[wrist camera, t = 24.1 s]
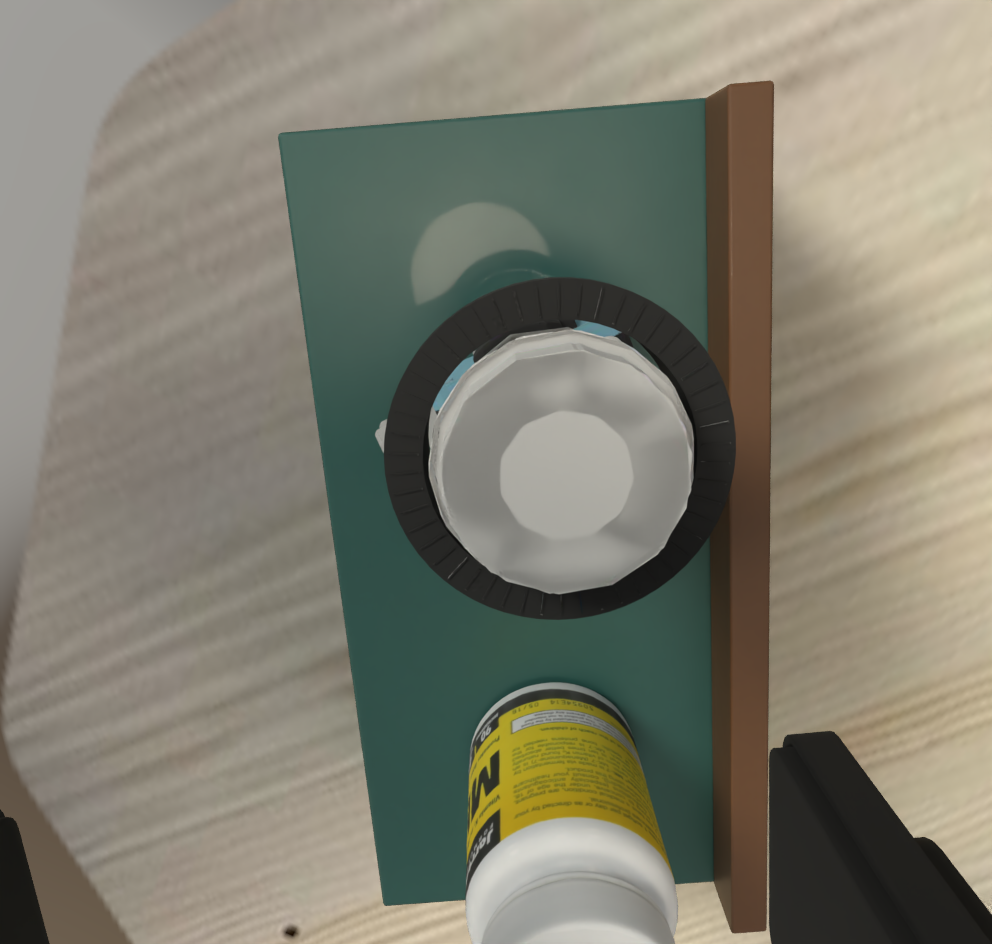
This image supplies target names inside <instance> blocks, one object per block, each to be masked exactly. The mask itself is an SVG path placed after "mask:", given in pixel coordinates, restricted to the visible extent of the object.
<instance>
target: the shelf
mask: <svg viewBox="0 0 992 944" xmlns="http://www.w3.org/2000/svg"><path fill="white" fill-rule="evenodd" d="M773 128H774V84H773V82H772V81H760V82H748V83H736V84H730V85H728V86H726V87H724V88H723V89H721V90H719V91H717V92H716V93H714V94H712V95H711V96H709V97H707V98H699V99H687V100H675V101H663V102H650V103H638V104H626V105H614V106H602V107H590V108H577V109H565V110H553V111H541V112H529V113H517V114H504V115H492V116H480V117H468V118H456V119H444V120H431V121H419V122H407V123H395V124H383V125H371V126H358V127H346V128H334V129H322V130H310V131H298V132H285V133H280V134H279V136H278V140H279V147H280V155H281V162H282V169H283V176H284V184H285V191H286V198H287V206H288V213H289V220H290V227H291V235H292V242H293V249H294V256H295V264H296V271H297V278H298V286H299V293H300V300H301V307H302V315H303V322H304V329H305V337H306V344H307V351H308V358H309V366H310V373H311V380H312V387H313V395H314V402H315V409H316V417H317V424H318V431H319V438H320V446H321V453H322V460H323V468H324V475H325V482H326V489H327V497H328V504H329V511H330V518H331V526H332V533H333V540H334V548H335V555H336V562H337V569H338V577H339V584H340V591H341V599H342V606H343V613H344V620H345V628H346V635H347V642H348V649H349V657H350V664H351V671H352V679H353V686H354V693H355V700H356V708H357V715H358V722H359V729H360V737H361V744H362V751H363V759H364V766H365V773H366V780H367V788H368V795H369V802H370V810H371V817H372V824H373V831H374V839H375V846H376V853H377V860H378V868H379V875H380V882H381V890H382V897H383V903H384V905H385V906H391V905H404V904H417V903H431V902H444V901H458V900H466V899H465V892H466V868H467V830H468V794H469V758H470V749H471V744H472V740H473V737H474V734H475V731H476V729H477V727H478V725H479V723H480V721H481V720H482V718H483V717H484V716H485V714H486V713H487V712H488V711H489V710H490V709H491V708H492V707H493V706H494V705H495V704H496V703H497V702H498V701H500V700H501V699H502V698H504V697H505V696H507V695H509V694H510V693H512V692H515V691H517V690H519V689H522V688H524V687H528V686H531V685H536V684H541V683H550V682H561V683H569V684H575V685H579V686H582V687H585V688H588V689H590V690H592V691H595V692H596V693H598V694H600V695H601V696H603V697H605V698H606V699H607V700H608V701H610V702H611V703H612V704H613V705H614V706H615V707H616V708H617V709H618V710H619V711H620V713H621V714H622V715H623V717H624V718H625V720H626V722H627V724H628V726H629V728H630V730H631V733H632V735H633V738H634V741H635V745H636V748H637V752H638V755H639V759H640V762H641V766H642V769H643V773H644V777H645V780H646V784H647V788H648V791H649V795H650V799H651V802H652V806H653V809H654V812H655V816H656V820H657V823H658V827H659V830H660V833H661V837H662V840H663V844H664V847H665V851H666V854H667V857H668V861H669V864H670V867H671V870H672V874H673V877H674V882H675V884H685V883H699V882H712V881H714V884H715V887H716V890H717V893H718V895H719V898H720V901H721V904H722V907H723V910H724V912H725V915H726V918H727V921H728V924H729V927H730V929H731V932H732V933H746V932H760V931H766V922H767V809H768V695H769V582H770V468H771V355H772V242H773ZM549 277H574V278H584V279H592V280H596V281H601V282H605V283H609V284H612V285H615V286H618V287H621V288H624V289H627V290H630V291H632V292H634V293H636V294H638V295H640V296H642V297H645V298H647V299H649V300H650V301H652V302H654V303H655V304H657V305H659V306H660V307H662V308H663V309H665V310H666V311H668V312H669V313H670V314H671V315H673V316H674V317H675V318H677V319H678V320H679V321H680V322H681V323H682V324H683V325H684V326H685V327H686V328H687V329H688V330H689V331H690V332H691V333H692V334H693V335H694V336H695V337H696V338H697V339H698V341H699V342H700V343H701V344H702V346H703V347H704V348H705V349H706V351H707V353H708V354H709V356H710V357H711V359H712V360H713V362H714V364H715V365H716V367H717V369H718V371H719V373H720V375H721V378H722V380H723V382H724V385H725V387H726V390H727V393H728V396H729V399H730V403H731V407H732V411H733V416H734V423H735V431H736V458H735V468H734V474H733V479H732V484H731V488H730V491H729V494H728V498H727V501H726V504H725V506H724V509H723V511H722V513H721V515H720V518H719V520H718V522H717V524H716V526H715V527H714V529H713V531H712V532H711V534H710V536H709V538H708V539H707V540H706V542H705V543H704V545H703V546H702V547H701V549H700V550H699V551H698V553H697V554H696V555H695V556H694V557H693V558H692V559H691V561H690V562H689V563H688V564H687V565H686V566H685V567H684V568H683V569H682V570H681V571H680V572H679V573H677V574H676V575H675V576H674V577H673V578H672V579H670V580H669V581H668V582H666V583H665V584H664V585H662V586H661V587H660V588H658V589H657V590H655V591H654V592H652V593H650V594H649V595H647V596H645V597H644V598H642V599H640V600H638V601H635V602H633V603H631V604H629V605H627V606H624V607H622V608H619V609H616V610H613V611H611V612H607V613H603V614H599V615H595V616H591V617H584V618H578V619H566V620H546V619H534V618H527V617H521V616H517V615H513V614H508V613H504V612H502V611H499V610H496V609H493V608H490V607H488V606H485V605H483V604H481V603H479V602H477V601H475V600H473V599H471V598H469V597H468V596H466V595H464V594H463V593H461V592H459V591H458V590H456V589H455V588H453V587H452V586H451V585H449V584H448V583H447V582H445V581H444V580H443V579H442V578H441V577H440V576H439V575H437V574H436V573H435V572H434V571H433V570H432V569H431V568H430V567H429V566H428V565H427V564H426V562H425V561H424V560H423V559H422V558H421V557H420V555H419V554H418V553H417V551H416V550H415V549H414V547H413V546H412V544H411V543H410V541H409V540H408V538H407V536H406V535H405V533H404V531H403V529H402V527H401V526H400V523H399V521H398V519H397V516H396V514H395V511H394V509H393V506H392V503H391V499H390V496H389V493H388V488H387V482H386V477H385V468H384V453H383V451H382V449H381V447H380V445H379V443H378V440H377V438H376V436H375V433H376V431H377V430H378V429H380V427H379V426H380V424H381V422H382V421H384V420H386V419H387V418H388V414H389V410H390V406H391V403H392V399H393V397H394V394H395V392H396V389H397V387H398V384H399V382H400V380H401V378H402V376H403V374H404V372H405V371H406V369H407V367H408V365H409V363H410V362H411V360H412V359H413V357H414V356H415V354H416V353H417V351H418V350H419V348H420V347H421V346H422V344H423V343H424V342H425V341H426V340H427V339H428V337H429V336H430V335H431V334H432V333H433V332H434V331H435V330H436V329H437V328H438V327H439V326H440V325H441V324H442V323H443V322H444V321H445V320H446V319H448V318H449V317H450V316H452V315H453V314H454V313H456V312H457V311H458V310H459V309H461V308H462V307H464V306H466V305H467V304H469V303H470V302H472V301H474V300H475V299H477V298H479V297H481V296H483V295H485V294H488V293H490V292H492V291H494V290H496V289H499V288H502V287H505V286H508V285H511V284H514V283H519V282H523V281H528V280H532V279H541V278H549ZM629 337H630V336H629ZM630 339H631V342H632V345H633V347H634V349H635V350H637V351H638V352H639V353H640V354H641V355H642V356H644V357H645V358H646V359H647V360H648V361H650V362H651V363H652V364H653V365H654V366H655V367H657V368H658V369H659V370H660V368H659V366H658V365H657V364H656V362H655V361H654V359H653V358H652V357H651V355H650V354H649V353H648V352H647V351H646V350H645V349H644V348H643V346H642V345H641V344H640V343H639V342H637V341H636V340H635V339H633V338H632V337H630ZM472 356H474V355H473V352H472V353H471V354H469V355H468V356H467V357H466V358H465V359H467V358H470V357H472ZM465 359H464V360H465ZM660 371H661V370H660ZM429 448H430V446H429ZM430 450H431V448H430Z"/></svg>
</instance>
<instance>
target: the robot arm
mask: <svg viewBox="0 0 992 944" xmlns="http://www.w3.org/2000/svg"><path fill="white" fill-rule="evenodd" d="M769 927H770V937H771V942H772V944H992V914H991V913H990V912H989V911H988V909H987V908H986V907H985V905H984V904H983V903H982V902H981V900H980V899H979V898H978V896H977V895H976V894H975V892H974V891H973V890H972V889H971V887H970V886H969V885H968V883H967V882H966V881H965V879H964V878H963V877H962V876H961V874H960V873H959V872H958V870H957V869H956V868H955V867H954V865H953V864H952V863H951V861H950V860H949V859H948V857H947V856H946V855H945V854H944V852H943V851H942V850H941V849H940V848H939V847H938V846H937V845H936V844H935V843H934V842H933V841H932V840H930V839H928V838H925V837H920V838H913V837H912V835H911V834H910V832H909V831H908V830H907V828H906V827H905V826H904V824H903V823H902V822H901V820H900V819H899V818H898V816H897V815H896V814H895V812H894V811H893V809H892V808H891V807H890V805H889V804H888V803H887V801H886V800H885V799H884V797H883V796H882V795H881V793H880V792H879V791H878V789H877V788H876V787H875V785H874V784H873V782H872V781H871V780H870V778H869V777H868V776H867V774H866V773H865V772H864V770H863V769H862V768H861V766H860V765H859V764H858V762H857V761H856V760H855V758H854V757H853V755H852V754H851V753H850V751H849V750H848V749H847V747H846V746H845V745H844V743H843V742H842V741H841V739H840V738H839V737H838V736H837V735H836V734H835V733H834V732H832V731H825V732H814V733H803V734H791V735H787V736H786V737H785V738H784V742H783V748H773V749H772V750H771V752H770V758H769ZM0 944H49V941H48V937H47V933H46V929H45V926H44V922H43V918H42V914H41V911H40V907H39V903H38V900H37V895H36V892H35V888H34V884H33V880H32V877H31V873H30V869H29V865H28V862H27V858H26V854H25V851H24V847H23V843H22V839H21V835H20V832H19V828H18V826H17V823H16V821H14V819H13V818H9V817H5V816H4V814H3V812H2V811H1V810H0Z"/></svg>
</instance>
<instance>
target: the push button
mask: <svg viewBox="0 0 992 944" xmlns="http://www.w3.org/2000/svg"><path fill="white" fill-rule="evenodd" d="M629 336H630V337H632V338H633V339H635V340H636V341H637V342H639V343H640V344H641V345H642V346H643V348H644V349H645V350H646V351H647V352H648V353H649V354H650V355H651V357H652V358H653V359H654V361H655V362H656V364H657V365H658V366H659V368H660V370H661V371H660V370H659V369H658V368H657V367H655V366H654V365H653V364H652V363H651V362H650V361H648V360H647V359H646V358H645V357H644V356H642V355H641V354H640V353H639V352H638V351H637V350H635V349H634V347H633V345H632V342H631V339H630V337H629ZM472 352H473V355H474V356H472V357H470V358H467V359H465V358H466V357H467V356H468V355H469V354H471V353H472ZM464 359H465V360H464ZM379 427H380V429H378V430H377V431H376V433H375V436H376V438H377V440H378V443H379V445H380V447H381V449H382V451H383V453H384V468H385V477H386V482H387V488H388V493H389V496H390V499H391V503H392V506H393V509H394V511H395V514H396V516H397V519H398V521H399V523H400V526H401V527H402V529H403V531H404V533H405V535H406V536H407V538H408V540H409V541H410V543H411V544H412V546H413V547H414V549H415V550H416V551H417V553H418V554H419V555H420V557H421V558H422V559H423V560H424V561H425V562H426V564H427V565H428V566H429V567H430V568H431V569H432V570H433V571H434V572H435V573H436V574H437V575H439V576H440V577H441V578H442V579H443V580H444V581H445V582H447V583H448V584H449V585H451V586H452V587H453V588H455V589H456V590H458V591H459V592H461V593H463V594H464V595H466V596H468V597H469V598H471V599H473V600H475V601H477V602H479V603H481V604H483V605H485V606H488V607H490V608H493V609H496V610H499V611H502V612H504V613H508V614H513V615H517V616H521V617H527V618H534V619H546V620H566V619H578V618H584V617H591V616H595V615H599V614H603V613H607V612H611V611H613V610H616V609H619V608H622V607H624V606H627V605H629V604H631V603H633V602H635V601H638V600H640V599H642V598H644V597H645V596H647V595H649V594H650V593H652V592H654V591H655V590H657V589H658V588H660V587H661V586H662V585H664V584H665V583H666V582H668V581H669V580H670V579H672V578H673V577H674V576H675V575H676V574H677V573H679V572H680V571H681V570H682V569H683V568H684V567H685V566H686V565H687V564H688V563H689V562H690V561H691V559H692V558H693V557H694V556H695V555H696V554H697V553H698V551H699V550H700V549H701V547H702V546H703V545H704V543H705V542H706V540H707V539H708V538H709V536H710V534H711V532H712V531H713V529H714V527H715V526H716V524H717V522H718V520H719V518H720V515H721V513H722V511H723V509H724V506H725V504H726V501H727V498H728V494H729V491H730V488H731V484H732V479H733V474H734V468H735V458H736V431H735V423H734V416H733V411H732V407H731V403H730V399H729V396H728V393H727V390H726V387H725V385H724V382H723V380H722V378H721V375H720V373H719V371H718V369H717V367H716V365H715V364H714V362H713V360H712V359H711V357H710V356H709V354H708V353H707V351H706V349H705V348H704V347H703V346H702V344H701V343H700V342H699V341H698V339H697V338H696V337H695V336H694V335H693V334H692V333H691V332H690V331H689V330H688V329H687V328H686V327H685V326H684V325H683V324H682V323H681V322H680V321H679V320H678V319H677V318H675V317H674V316H673V315H671V314H670V313H669V312H668V311H666V310H665V309H663V308H662V307H660V306H659V305H657V304H655V303H654V302H652V301H650V300H649V299H647V298H645V297H642V296H640V295H638V294H636V293H634V292H632V291H630V290H627V289H624V288H621V287H618V286H615V285H612V284H609V283H605V282H601V281H596V280H592V279H584V278H574V277H549V278H541V279H532V280H528V281H523V282H519V283H514V284H511V285H508V286H505V287H502V288H499V289H496V290H494V291H492V292H490V293H488V294H485V295H483V296H481V297H479V298H477V299H475V300H474V301H472V302H470V303H469V304H467V305H466V306H464V307H462V308H461V309H459V310H458V311H457V312H456V313H454V314H453V315H452V316H450V317H449V318H448V319H446V320H445V321H444V322H443V323H442V324H441V325H440V326H439V327H438V328H437V329H436V330H435V331H434V332H433V333H432V334H431V335H430V336H429V337H428V339H427V340H426V341H425V342H424V343H423V344H422V346H421V347H420V348H419V350H418V351H417V353H416V354H415V356H414V357H413V359H412V360H411V362H410V363H409V365H408V367H407V369H406V371H405V372H404V374H403V376H402V378H401V380H400V382H399V384H398V387H397V389H396V392H395V394H394V397H393V399H392V403H391V406H390V410H389V414H388V418H387V419H386V420H384V421H382V422H381V424H380V426H379ZM429 446H430V448H431V450H430V448H429Z"/></svg>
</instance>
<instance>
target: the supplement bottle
mask: <svg viewBox="0 0 992 944" xmlns="http://www.w3.org/2000/svg"><path fill="white" fill-rule="evenodd" d="M465 899H466V919H467V926H468V930H469V934H470V937H471V941H472V944H675V942H674V938H673V937H674V934H675V930H676V925H677V918H678V901H677V893H676V887H675V882H674V877H673V874H672V870H671V867H670V864H669V861H668V857H667V854H666V851H665V847H664V844H663V840H662V837H661V833H660V830H659V827H658V823H657V820H656V816H655V812H654V809H653V806H652V802H651V799H650V795H649V791H648V788H647V784H646V780H645V777H644V773H643V769H642V766H641V762H640V759H639V755H638V752H637V748H636V745H635V741H634V738H633V735H632V733H631V730H630V728H629V726H628V724H627V722H626V720H625V718H624V717H623V715H622V714H621V713H620V711H619V710H618V709H617V708H616V707H615V706H614V705H613V704H612V703H611V702H610V701H608V700H607V699H606V698H605V697H603V696H601V695H600V694H598V693H596V692H595V691H592V690H590V689H588V688H585V687H582V686H579V685H575V684H569V683H561V682H550V683H541V684H536V685H531V686H528V687H524V688H522V689H519V690H517V691H515V692H512V693H510V694H509V695H507V696H505V697H504V698H502V699H501V700H500V701H498V702H497V703H496V704H495V705H494V706H493V707H492V708H491V709H490V710H489V711H488V712H487V713H486V714H485V716H484V717H483V718H482V720H481V721H480V723H479V725H478V727H477V729H476V731H475V734H474V737H473V740H472V744H471V749H470V758H469V794H468V830H467V868H466V892H465Z"/></svg>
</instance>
